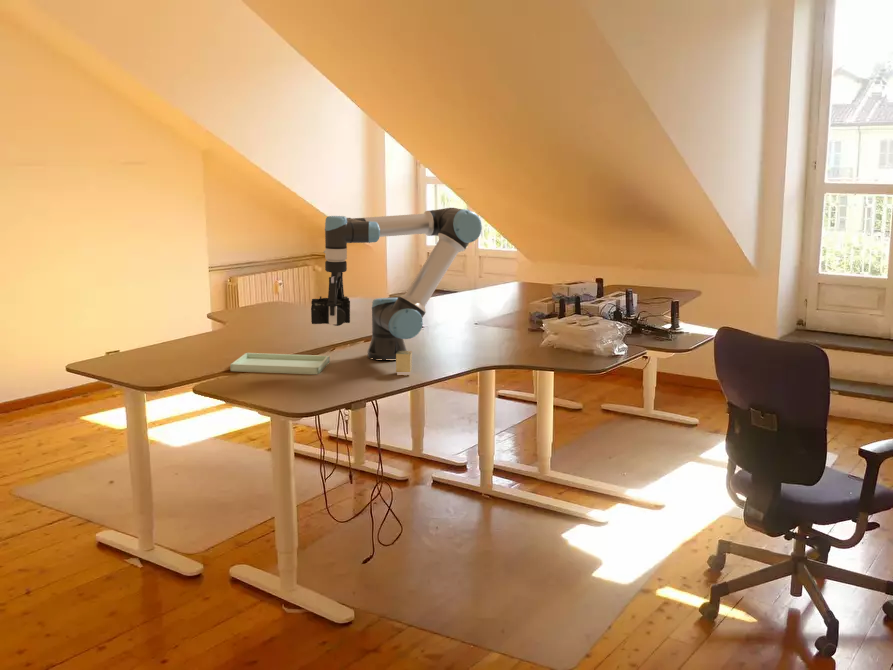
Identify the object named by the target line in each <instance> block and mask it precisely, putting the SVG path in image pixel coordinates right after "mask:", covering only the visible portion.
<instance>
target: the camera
mask: <svg viewBox="0 0 893 670" xmlns="http://www.w3.org/2000/svg"><path fill="white" fill-rule="evenodd" d="M327 303H328V297H322V296H319V298H311V302H310V304H311V307H310V315H311V317H310V318H311V319H310V320H311V325H321V324H322V325H325V324H327V325H330V324H329V306H326V304H327ZM336 306H337V325H334V327H339V326H341V325H343V324H350V323H351V300H350V298H349V297H348V296H345V295H344V297H343V298H341V300H338V299H337V301H336Z"/></svg>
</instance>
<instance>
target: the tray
mask: <svg viewBox="0 0 893 670" xmlns="http://www.w3.org/2000/svg"><path fill="white" fill-rule="evenodd" d="M330 360H331V359H330V355H321V354H320V355H315V354H313V355H312V354H294V353H293V354H289V353H285V354H284V353H266V352H265V353H263V352H262V353H261V352H259V353H257V352H245V353H243V354H242V355H241V356H240V357H238V358H237V359H236V360H234V361H233V362H231V363H230V372H244V373H245V372H246V373H247V372H248V373H271V374H274V373H275V374H295V375H296V374H297V375H319V374H320V373H321V372H323V370H324V369H325V368H326V367H327V366H328V365H329V364H330V362H331V361H330ZM328 363H329V364H328ZM327 364H328V365H327ZM326 365H327V366H326Z"/></svg>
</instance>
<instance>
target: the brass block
mask: <svg viewBox="0 0 893 670" xmlns="http://www.w3.org/2000/svg"><path fill="white" fill-rule="evenodd" d="M395 368H396V369H395V373H396V372H411V370H412V371H413V351H412V350H411V351H410V350H407V351H398V352H397V353H396V361H395Z"/></svg>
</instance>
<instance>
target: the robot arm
mask: <svg viewBox="0 0 893 670" xmlns="http://www.w3.org/2000/svg"><path fill="white" fill-rule="evenodd" d="M482 227H483V226H482V221H481V219H480V217H479V215H478V214H477V213H476V212H474V211H473V210H472V211H471V210H470V209H467V208H463V209H462V208H458V207H457V208H456V207H446V208H440V209H431V210H425V211H424V212H423V213H416V214H415V213H414V214H399V215H398V214H397V215H384V216H370V217H369V216H368V217H357V218H356V217H353V218H351V217H347V216H344V215H328V216H326V218H325V223H324V236H325V238H324V240H325V241H324V242H325V244H324V246H325V247H324V248H325V249H324V250H323V253H324V254H325V256H324V257H325V258H324V259H325V261H324V267H325V268H324V269H325V270H324V271H325V272H326V273H330V274H331V275H330V276H329V277H328V292H327V293H328V294H327V298H328V303H327V304H326V306H329V324H328V325H330V326H331V325H332V326H335V325H337V306H336V301H337V299H338V300H341V298H343V297H344V296H345V293H344V292H345V291H344V279H343V278H344V273H345V272H347V271H348V270H347V269H348V267H347V265H348V264H347V263H348V262H347V261H346V260H347V259H348V244H355V243H356V244H362V243H363V244H364V243H366V244H370V243H376V242H378V241H379V240H380V238H382V237H383V238H384V237H397V236H398V237H399V236H410V235H411V236H412V235H422V234H423V235H425V236H427V237H432V236H434V237H436V236H437V237H438V241H437V243H436V244H435V246H434V247H433V249H432V251H431V253H429V255H428V257H427V259H426V260H425V262H424V264H423V265H422V266H421V268H420V269H419V271H418V273H417V274H416V276H415V278H414V279H413V280H412V283H411V284H410V286H409V287H408V289H407V290H406V292H405V294H401V295H398V297H379V298H375V299H373V300H372V302H371V303H372V304H371V316H372V317H371V330H372V331H371V332H372V333H371V340H370V343H369V347H368V349H367V358H368V357H370V358H373V359H382V360H386V359H396V353H397V352H398V351H408V350H407V347H406V345H405V341H404V340H410V339H412V338H415V337H416V336H417V335H419V333H420V332H421V330H422V328H423V325H424V322H423V317H425V314H426V312H427V311H426V308H425V307H426V305H427V303H428V302H429V300H430V299H431V297H432V296H433V293H434V292H435V291H436V289H437V287H438V286H439V284H440V283H441V281H442V279H443V278H444V276H445V275H446V273H447V271H449V268H450V267H451V265H452V264H453V262H454V260H455V258H456V257H457V256H458V254H459V253H461V252H464V251H465V250H466V249H467V247H468V246H469V244H471V243H473V242H475V241H476V240H478V239H479V237H480V236H481V233H482V230H483V229H482ZM370 358H369V359H370ZM373 359H372V360H373Z"/></svg>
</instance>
